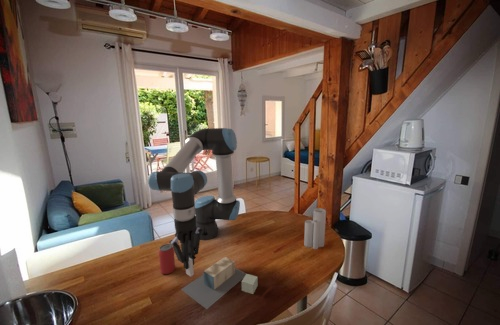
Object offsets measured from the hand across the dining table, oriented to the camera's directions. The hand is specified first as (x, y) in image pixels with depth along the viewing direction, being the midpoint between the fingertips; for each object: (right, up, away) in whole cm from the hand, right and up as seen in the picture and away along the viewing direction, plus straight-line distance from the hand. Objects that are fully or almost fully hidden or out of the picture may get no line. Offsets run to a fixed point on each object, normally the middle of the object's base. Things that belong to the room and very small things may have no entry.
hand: (189, 274), depth 87 cm
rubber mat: (+8, -10, +12) cm, 17 cm away
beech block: (+6, -7, +8) cm, 12 cm away
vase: (+59, -4, +40) cm, 71 cm away
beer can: (-16, -8, +20) cm, 27 cm away
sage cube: (+23, -10, +8) cm, 26 cm away
